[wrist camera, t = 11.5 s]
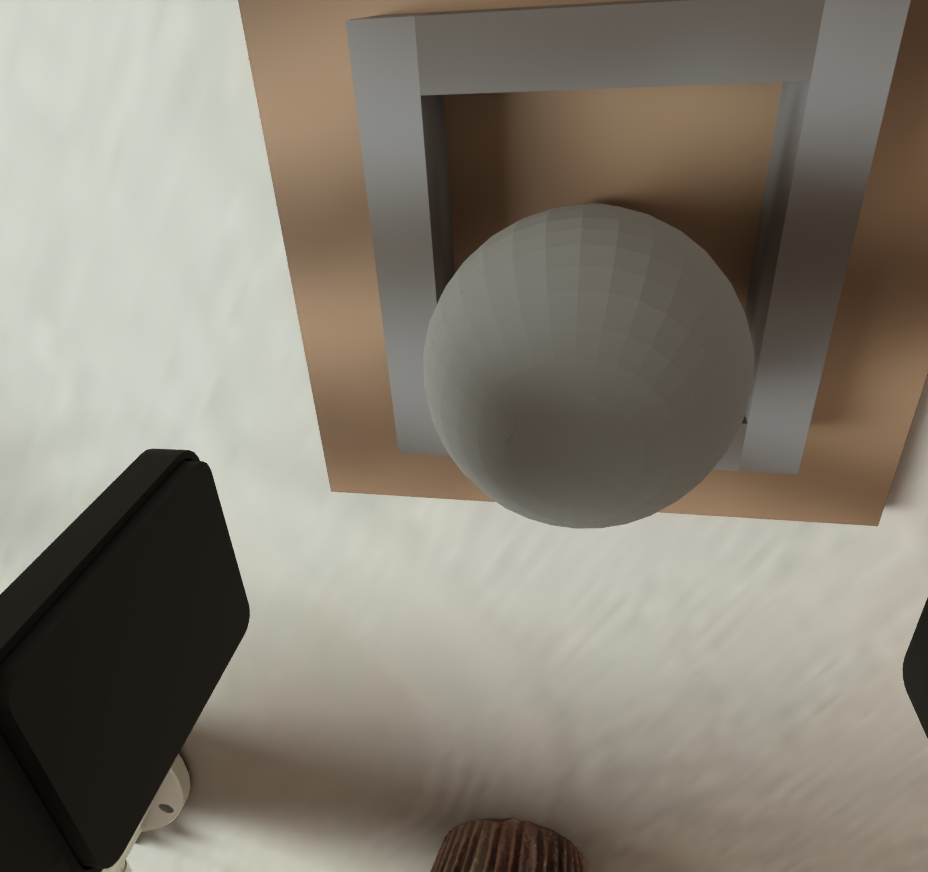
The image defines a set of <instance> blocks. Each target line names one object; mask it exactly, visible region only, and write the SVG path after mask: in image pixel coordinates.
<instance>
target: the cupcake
mask: <svg viewBox="0 0 928 872" xmlns="http://www.w3.org/2000/svg"><path fill="white" fill-rule="evenodd" d="M431 872H588V869H587V864H586V860H585V858H584V856H583V855H582V854H581V853H580V852H578V851H577V847H575V846H574V845H573V844H572V843H571V841H569V840H568V839H566V838H565V837H563V836H561V835H559V834H557V833H556V832H554V831H553V830H551V829H549V828H545V827H541V826H538V825H536V824H534V823H532V822H525V821H519V820H516V819H514V818H510V819H504V820H475V821H470V822H468V823H466V824H460V825H459V826H457V827H454V828H453V830H451V831H450V832H449V834H448V835H447V836H446V837H445V839H444V841H443V844H442V846H441V848H440V850H439V852H438V855H437V857H436V860H435V862H434V864H433V867H432V869H431Z"/></svg>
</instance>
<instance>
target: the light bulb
mask: <svg viewBox="0 0 928 872" xmlns="http://www.w3.org/2000/svg"><path fill="white" fill-rule="evenodd" d="M423 364H424V388H425V393H426V397H427V401H428V405H429V410H430V414H431V418H432V421H433V424H434V426H435V428H436V430H437V432H438V434H439V436H440V438H441V441H442V443H443V445H444V446H445V448H446V450H447V452H448V453H449V455H450V456H451V458H452V459H453V460H454V462H455V463H456V464H457V466H458V467H459V468H460V470H461V471H462V473H463V474H465V475H466V476H467V477H468V478H469V479H470V480H471V481H472V482H473V483H474V484H475V485H476V486H477V487H478V488H479V489H480V490H481V491H482V492H483V493H485V494H486V495H487V496H488V497H490V498H491V499H493V500H494V501H496V502H497V503H499V504H500V505H502V506H503V507H505V508H506V509H509V510H511V511H513V512H515V513H517V514H520V515H522V516H524V517H526V518H528V519H532V520H535V521H539V522H542V523H546V524H549V525H554V526H562V527H570V528H605V527H610V526H616V525H622V524H627V523H630V522H633V521H636V520H639V519H642V518H645V517H648V516H651V515H653V514H654V513H656V512H658V511H660V510H662V509H664V508H666V507H667V506H669V505H671V504H673V503H675V502H676V501H678V500H680V499H681V498H682V497H683V496H685V495H686V494H687V493H688V492H690V491H691V490H692V489H693V488H695V487H696V486H697V485H699V484H700V483H701V482H702V481H703V480H704V478H705V477H706V476H707V475H708V474H709V473H710V472H711V470H712V469H713V468H714V467H715V466H716V465H717V463H718V462H719V461H720V460H721V459H722V457H723V456H724V455H725V454H726V452H727V450H728V449H729V447H730V445H731V443H732V441H733V439H734V437H735V436H736V434H737V432H738V430H739V428H740V426H741V424H742V421H743V419H744V416H745V412H746V408H747V405H748V401H749V398H750V394H751V390H752V384H753V364H754V350H753V345H752V340H751V335H750V330H749V325H748V321H747V318H746V315H745V312H744V310H743V308H742V305H741V303H740V301H739V299H738V297H737V295H736V293H735V290H734V288H733V286H732V284H731V282H730V281H729V280H728V278H727V277H726V276H725V275H724V273H723V272H722V271H721V270H720V268H719V267H718V266H717V264H716V263H715V262H714V261H713V259H712V258H711V257H710V256H709V254H708V253H707V252H706V251H705V250H704V249H703V248H701V247H700V246H699V245H698V244H696V243H695V242H694V241H693V240H692V239H690V238H689V237H688V236H687V235H685V234H684V233H683V232H682V231H680V230H678V229H676V228H674V227H672V226H670V225H668V224H666V223H664V222H662V221H661V220H659V219H657V218H655V217H653V216H651V215H649V214H645V213H641V212H637V211H634V210H630V209H626V208H623V207H619V206H611V205H608V204H602V203H590V204H582V205H574V206H566V207H559V208H553V209H550V210H547V211H544V212H541V213H538V214H535V215H532V216H529V217H526V218H523V219H521V220H519V221H517V222H515V223H514V224H512V225H510V226H508V227H507V228H505V229H503V230H501V231H500V232H498V233H496V234H495V235H493V236H492V237H491V238H489V239H488V240H487V241H486V242H485V243H484V244H483V245H482V246H480V247H479V248H478V249H477V250H476V251H475V252H474V253H473V254H471V255H470V256H469V257H468V258H467V259H466V260H465V261H464V262H463V264H462V265H461V266H460V268H459V269H458V270H457V272H456V273H455V275H454V276H453V277H452V279H451V280H450V281H449V283H448V284H447V285H446V287H445V289H444V291H443V293H442V295H441V297H440V299H439V301H438V304H437V306H436V308H435V310H434V313H433V315H432V317H431V319H430V322H429V326H428V331H427V336H426V341H425V346H424V355H423Z"/></svg>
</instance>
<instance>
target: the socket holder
mask: <svg viewBox="0 0 928 872" xmlns="http://www.w3.org/2000/svg"><path fill="white" fill-rule="evenodd" d="M238 2H239V8H240V13H241V18H242V23H243V29H244V34H245V39H246V44H247V50H248V55H249V60H250V66H251V71H252V76H253V81H254V87H255V92H256V97H257V103H258V108H259V113H260V118H261V124H262V129H263V134H264V139H265V145H266V150H267V155H268V161H269V166H270V171H271V176H272V182H273V187H274V192H275V198H276V203H277V208H278V213H279V219H280V224H281V229H282V235H283V240H284V245H285V250H286V256H287V261H288V266H289V271H290V277H291V282H292V287H293V293H294V298H295V303H296V308H297V314H298V319H299V324H300V330H301V335H302V340H303V345H304V351H305V356H306V361H307V366H308V372H309V377H310V382H311V388H312V393H313V398H314V403H315V409H316V414H317V419H318V425H319V430H320V435H321V440H322V446H323V451H324V456H325V462H326V467H327V472H328V477H329V483H330V488H331V491H332V492H347V493H363V494H379V495H395V496H411V497H426V498H442V499H458V500H474V501H490V502H496V501H494V500H493V499H491V498H490V497H488V496H487V495H486V494H485V493H483V492H482V491H481V490H480V489H479V488H478V487H477V486H476V485H475V484H474V483H473V482H472V481H471V480H470V479H469V478H468V477H467V476H466V475H465V474H463V473H462V471H461V470H460V468H459V467H458V466H457V464H456V463H455V462H454V460H453V459H452V458H451V456H450V455H449V453H448V452H447V450H446V448H445V446H444V445H443V443H442V441H441V438H440V436H439V434H438V432H437V430H436V428H435V426H434V424H433V421H432V418H431V414H430V410H429V405H428V401H427V397H426V393H425V388H424V364H423V355H424V346H425V341H426V336H427V331H428V326H429V322H430V319H431V317H432V315H433V313H434V310H435V308H436V306H437V304H438V301H439V299H440V297H441V295H442V293H443V291H444V289H445V287H446V285H447V284H448V283H449V281H450V280H451V279H452V277H453V276H454V275H455V273H456V272H457V270H458V269H459V268H460V266H461V265H462V264H463V262H464V261H465V260H466V259H467V258H468V257H469V256H470V255H471V254H473V253H474V252H475V251H476V250H477V249H478V248H479V247H480V246H482V245H483V244H484V243H485V242H486V241H487V240H488V239H489V238H491V237H492V236H493V235H495V234H496V233H498V232H500V231H501V230H503V229H505V228H507V227H508V226H510V225H512V224H514V223H515V222H517V221H519V220H521V219H523V218H526V217H529V216H532V215H535V214H538V213H541V212H544V211H547V210H550V209H553V208H559V207H566V206H574V205H582V204H590V203H602V204H608V205H611V206H619V207H623V208H626V209H630V210H634V211H637V212H641V213H645V214H649V215H651V216H653V217H655V218H657V219H659V220H661V221H662V222H664V223H666V224H668V225H670V226H672V227H674V228H676V229H678V230H680V231H682V232H683V233H684V234H685V235H687V236H688V237H689V238H690V239H692V240H693V241H694V242H695V243H696V244H698V245H699V246H700V247H701V248H703V249H704V250H705V251H706V252H707V253H708V254H709V256H710V257H711V258H712V259H713V261H714V262H715V263H716V264H717V266H718V267H719V268H720V270H721V271H722V272H723V273H724V275H725V276H726V277H727V278H728V280H729V281H730V282H731V284H732V286H733V288H734V290H735V293H736V295H737V297H738V299H739V301H740V303H741V305H742V308H743V310H744V312H745V315H746V318H747V321H748V325H749V330H750V335H751V340H752V345H753V350H754V364H753V384H752V390H751V394H750V398H749V401H748V405H747V408H746V412H745V416H744V419H743V421H742V424H741V426H740V428H739V430H738V432H737V434H736V436H735V437H734V439H733V441H732V443H731V445H730V447H729V449H728V450H727V452H726V454H725V455H724V456H723V457H722V459H721V460H720V461H719V462H718V463H717V465H716V466H715V467H714V468H713V469H712V470H711V472H710V473H709V474H708V475H707V476H706V477H705V478H704V480H703V481H702V482H701V483H700V484H699V485H697V486H696V487H695V488H693V489H692V490H691V491H690V492H688V493H687V494H686V495H685V496H683V497H682V498H681V499H680V500H678V501H676V502H675V503H673V504H671V505H669V506H667V507H666V508H664V509H662V510H660V511H658V512H663V513H679V514H695V515H711V516H727V517H742V518H758V519H774V520H790V521H806V522H822V523H837V524H853V525H869V526H878V524H879V521H880V518H881V515H882V512H883V509H884V506H885V503H886V500H887V497H888V493H889V490H890V487H891V484H892V481H893V478H894V475H895V472H896V469H897V466H898V463H899V460H900V457H901V454H902V451H903V447H904V444H905V441H906V438H907V435H908V432H909V429H910V426H911V423H912V420H913V417H914V414H915V411H916V408H917V404H918V401H919V398H920V395H921V392H922V389H923V386H924V383H925V380H926V377H927V374H928V0H238Z"/></svg>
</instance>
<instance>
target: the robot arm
mask: <svg viewBox="0 0 928 872" xmlns="http://www.w3.org/2000/svg"><path fill="white" fill-rule="evenodd" d="M249 617H250V609H249V604H248V600H247V597H246V593H245V589H244V586H243V582H242V579H241V575H240V572H239V568H238V564H237V561H236V557H235V554H234V550H233V547H232V543H231V540H230V536H229V532H228V529H227V525H226V522H225V518H224V515H223V511H222V507H221V504H220V500H219V497H218V493H217V490H216V486H215V483H214V479H213V475H212V472H211V469H210V467H209V466H208V464H207V463H205V462H203V461H200V460H199V458H198V456H197V455H196V454H195V453H194V452H192V451H190V450H172V449H148V450H146V451H145V452H143V453H142V454H141V455H140V456H139V457H138V458H137V459H136V460H135V461H134V462H133V463H132V464H131V465H130V466H129V467H128V468H127V469H126V470H125V471H124V472H123V473H122V474H121V475H120V476H119V477H118V478H117V479H116V480H115V481H114V482H113V483H112V484H111V485H110V486H109V487H108V488H107V489H106V490H105V491H104V492H103V493H102V494H101V495H100V496H99V497H98V498H97V499H96V500H95V501H94V502H93V503H92V504H91V505H90V506H89V507H88V508H87V509H86V510H85V511H84V512H83V513H82V514H81V515H80V516H79V517H78V518H77V519H76V520H75V521H74V522H73V523H72V524H71V525H70V526H69V527H68V528H67V529H66V530H65V531H64V532H63V533H62V534H61V535H60V536H59V537H58V538H57V539H56V540H55V541H54V542H53V543H52V544H51V545H50V546H49V547H48V548H47V549H46V550H45V551H44V552H43V553H42V554H41V555H40V556H39V557H38V558H37V559H36V560H35V561H34V562H33V563H32V564H31V565H30V566H29V567H28V568H27V569H26V570H25V571H24V572H23V573H22V574H21V575H20V576H19V577H18V578H17V579H16V580H15V581H14V582H13V583H12V584H11V585H10V586H9V587H8V588H7V589H6V590H5V591H3V592H2V593H1V594H0V872H133V871H132V869H131V867H130V866H129V864H128V862H127V860H126V858H127V856H128V854H129V853H130V851H131V849H132V847H133V845H134V844H135V842H136V840H137V838H138V836H139V835H140V833H141V832H146V831H150V830H154V829H158V828H161V827H163V826H165V825H167V824H169V823H171V822H172V821H173V820H174V819H175V818H176V817H177V816H178V815H179V814H180V812H181V810H182V808H183V806H184V804H185V802H186V800H187V798H188V796H189V792H190V787H191V785H190V778H189V773H188V771H187V768H186V766H185V764H184V761H183V759H182V758H181V756H180V755H179V752H180V750H181V748H182V746H183V744H184V743H185V741H186V739H187V737H188V735H189V734H190V732H191V730H192V728H193V726H194V725H195V723H196V721H197V719H198V717H199V716H200V714H201V712H202V710H203V708H204V707H205V705H206V703H207V701H208V699H209V698H210V696H211V694H212V692H213V690H214V689H215V687H216V685H217V683H218V681H219V680H220V678H221V676H222V674H223V672H224V670H225V669H226V667H227V665H228V663H229V661H230V660H231V658H232V656H233V654H234V652H235V651H236V649H237V647H238V645H239V643H240V642H241V640H242V638H243V636H244V634H245V632H246V630H247V627H248V623H249ZM903 680H904V685H905V688H906V691H907V693H908V696H909V698H910V700H911V702H912V705H913V707H914V709H915V711H916V713H917V716H918V718H919V720H920V722H921V725H922V727H923V729H924V731H925V733H926V736H927V738H928V598H927V601H926V603H925V606H924V608H923V611H922V614H921V616H920V619H919V621H918V624H917V627H916V629H915V632H914V634H913V637H912V640H911V642H910V645H909V647H908V650H907V653H906V655H905V658H904V662H903Z"/></svg>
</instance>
